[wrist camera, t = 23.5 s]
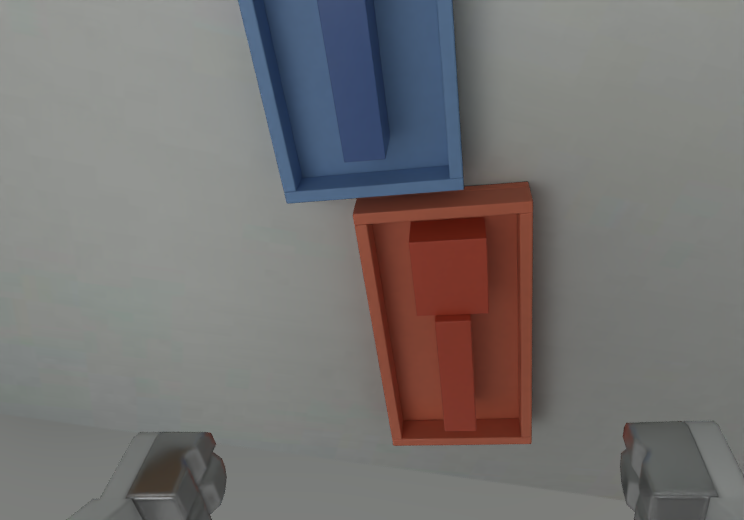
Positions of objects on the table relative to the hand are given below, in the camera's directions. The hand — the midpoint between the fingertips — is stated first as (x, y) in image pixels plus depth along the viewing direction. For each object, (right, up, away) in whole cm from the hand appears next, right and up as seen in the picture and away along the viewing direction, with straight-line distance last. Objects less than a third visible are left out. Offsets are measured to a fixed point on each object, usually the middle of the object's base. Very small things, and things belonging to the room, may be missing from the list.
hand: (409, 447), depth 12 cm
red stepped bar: (+4, 0, +21) cm, 22 cm away
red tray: (+4, 0, +22) cm, 22 cm away
